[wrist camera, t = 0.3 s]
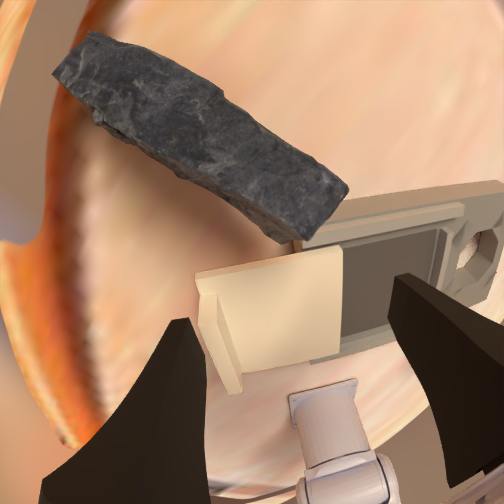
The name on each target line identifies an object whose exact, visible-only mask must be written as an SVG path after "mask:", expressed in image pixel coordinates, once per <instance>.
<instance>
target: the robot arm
mask: <svg viewBox="0 0 504 504" xmlns="http://www.w3.org/2000/svg"><path fill="white" fill-rule="evenodd" d="M387 318H388V321H389V323H390V326H391V328H392V331H393V333H394V335H395V338H396V340H397V342H398V344H399V345H400V347H401V349H402V351H403V352H404V354H405V356H406V358H407V360H408V361H409V363H410V365H411V367H412V368H413V370H414V372H415V374H416V376H417V377H418V379H419V381H420V383H421V385H422V387H423V389H424V391H425V393H426V396H427V398H428V401H429V404H430V406H431V409H432V412H433V415H434V418H435V421H436V425H437V428H438V431H439V435H440V440H441V444H442V448H443V453H444V459H445V467H446V475H447V482H448V484H449V487H450V488H453V487H455V486H456V485H458V484H460V483H462V482H464V481H465V480H467V479H469V478H470V477H472V476H474V475H475V474H477V473H479V472H480V471H481V470H483V472H484V474H485V476H484V477H482V478H481V479H479V480H478V481H476V482H475V483H473V484H472V485H470V486H469V487H467V488H466V489H464V490H462V491H461V492H459V493H457V494H456V495H454V496H452V497H451V498H449V499H447V500H445V501H444V502H442V503H440V504H472V503H474V502H475V504H504V326H502V325H500V324H498V323H496V322H494V321H492V320H490V319H488V318H486V317H484V316H482V315H480V314H478V313H477V312H475V311H473V310H471V309H469V308H468V307H466V306H464V305H462V304H461V303H459V302H457V301H456V300H454V299H452V298H451V297H449V296H448V295H446V294H444V293H443V292H441V291H439V290H438V289H436V288H435V287H433V286H431V285H430V284H428V283H426V282H425V281H423V280H421V279H420V278H418V277H416V276H414V275H412V274H410V273H405V274H401V275H397V276H395V277H394V283H393V289H392V295H391V301H390V306H389V311H388V316H387ZM357 384H358V381H357V379H351V380H348V381H344V382H341V383H337V384H333V385H329V386H325V387H322V388H317V389H313V390H309V391H305V392H300V393H295V394H291V395H290V396H289V404H290V410H291V417H292V423H293V428H295V429H296V428H298V431H299V436H300V441H301V446H302V450H303V455H304V460H305V464H306V469H307V470H305V471H304V473H305V477H303V478H300V479H299V481H298V483H297V484H296V497H297V503H298V504H401V501H400V497H399V488H398V482H397V478H396V474H395V471H394V469H393V466H392V464H391V462H390V460H389V458H388V457H387V456H384V455H382V454H377V455H376V454H375V452H374V450H371V448H370V446H369V443H368V440H367V437H366V434H365V431H364V428H363V425H362V422H361V419H360V417H359V414H358V411H357V408H356V405H355V403H354V397H355V393H356V388H357ZM206 388H207V377H206V362H205V355H204V352H203V350H202V348H201V345H200V343H199V341H198V338H197V336H196V334H195V331H194V329H193V326H192V324H191V321H190V319H189V317H188V318H181V319H174V320H171V322H170V323H169V325H168V327H167V329H166V330H165V332H164V334H163V336H162V338H161V339H160V341H159V343H158V345H157V347H156V348H155V350H154V352H153V354H152V355H151V357H150V359H149V361H148V362H147V364H146V366H145V367H144V369H143V371H142V372H141V374H140V376H139V377H138V379H137V380H136V382H135V383H134V385H133V386H132V388H131V390H130V391H129V393H128V394H127V395H126V397H125V398H124V400H123V401H122V402H121V404H120V405H119V407H118V408H117V409H116V410H115V412H114V413H113V414H112V416H111V417H110V418H109V419H108V420H107V422H106V423H105V424H104V425H103V426H102V427H101V428H100V430H99V431H98V432H97V433H96V434H95V435H94V436H93V437H92V438H91V439H90V440H89V441H88V442H87V443H86V444H85V445H84V446H83V447H82V448H81V449H80V450H79V451H78V452H77V453H76V454H75V455H74V456H73V457H71V458H70V459H69V460H68V461H67V462H65V463H64V464H63V465H61V466H60V467H59V468H57V469H56V470H55V471H53V472H52V473H51V474H50V475H48V476H47V477H45V478H44V479H43V480H42V484H41V490H40V496H39V503H38V504H211V501H210V495H209V488H208V480H207V472H206V462H205V450H204V428H205V407H206Z"/></svg>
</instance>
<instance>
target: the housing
mask: <svg viewBox="0 0 504 504" xmlns="http://www.w3.org/2000/svg"><path fill="white" fill-rule="evenodd" d="M480 231H481V236H480V240H479V245H478V249H477V251H476V252H475V254H474V255H473V256H472V257H471V259H470V260H469V261H468V262H467V264H466V265H465V266H464V267H463V268H460V269H457V270H456V267H457V263H458V259H459V254H460V253H461V252H462V250H463V249H464V248H465V247H466V245H467V244H468V243H469V241H470V240H471V239H472V237H473V236H474V235H475V233H477V232H480ZM293 245H294V254H295V253H300V252H305V251H310V250H315V249H320V248H325V247H330V246H335V245H339V246H340V247H341V249H342V250H343V286H342V314H341V333H340V348H339V353H337V354H334V355H330V356H326V357H322V358H318V359H313V360H309V361H310V365H312V364H316V363H321V362H325V361H329V360H333V359H336V358H340V357H344V356H348V355H351V354H355V353H358V352H362V351H365V350H368V349H372V348H375V347H378V346H381V345H384V344H387V343H390V342H393V341H396V338H395V335H394V333H393V331H392V328H391V326H390V323H389V321H388V318H387V316H388V311H389V306H390V301H391V295H392V289H393V283H394V277H395V276H397V275H401V274H405V273H410V274H412V275H414V276H416V277H418V278H420V279H421V280H423V281H425V282H426V283H428V284H430V285H431V286H433V287H435V288H436V289H438V290H439V291H441V292H443V293H444V294H446V295H448V296H449V297H451V298H452V299H454V300H456V301H457V302H459V303H461V304H462V305H464V306H466V307H471V306H473V305H475V304H477V303H480V302H482V301H484V300H486V299H487V296H488V293H489V290H490V288H491V285H492V282H493V279H494V276H495V274H496V273H497V272H496V270H497V267H498V263H499V260H500V257H501V253H502V250H503V246H504V184H503V183H501V182H499V181H497V180H492V181H483V182H474V183H465V184H457V185H449V186H441V187H433V188H426V189H418V190H411V191H404V192H397V193H390V194H384V195H377V196H371V197H364V198H358V199H352V200H346V201H341V203H340V204H339V206H338V208H337V209H336V210H335V212H334V213H333V214H332V215H331V217H330V218H329V219H328V220H327V221H326V222H325V223H324V224H323V225H322V226H321V227H320V228H319V229H318V230H317V231H316V233H315V235H314V236H313V237H312V239H311V240H309V241H308V242H306V241H304V240H293Z"/></svg>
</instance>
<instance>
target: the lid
mask: <svg viewBox="0 0 504 504" xmlns="http://www.w3.org/2000/svg"><path fill="white" fill-rule="evenodd" d="M195 282H196V285H197V288H198V291H199V294H200V301H199V315H198V328H199V330H200V332H201V335H202V337H203V339H204V342H205V344H206V346H207V349H208V351H209V353H210V356H211V358H212V360H213V362H214V365H215V367H216V369H217V371H218V373H219V376H220V378H221V380H222V382H223V384H224V386H225V388H226V390H227V393H228V395H234V394H241V393H243V385H242V373H248V372H254V371H260V370H266V369H271V368H276V367H281V366H286V365H291V364H296V363H300V362H305V361H309V360H313V359H318V358H322V357H326V356H330V355H334V354H337V353H339V348H340V333H341V314H342V286H343V250H342V249H341V247H340V246H339V245H335V246H330V247H325V248H320V249H315V250H310V251H305V252H300V253H295V254H290V255H285V256H280V257H275V258H270V259H265V260H260V261H255V262H250V263H244V264H239V265H234V266H229V267H224V268H219V269H213V270H208V271H203V272H198V273H195Z"/></svg>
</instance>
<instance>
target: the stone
mask: <svg viewBox="0 0 504 504" xmlns="http://www.w3.org/2000/svg"><path fill="white" fill-rule="evenodd" d="M52 75H53V76H54V77H55V78H56V79H57V80H58V81H59V82H60V83H61V84H62V85H63V86H64V88H65V89H66V90H67V91H69V92H70V93H71V94H72V95H73V96H74V97H75V98H77V99H79V100H80V101H81V102H82V103H83V104H84V105H85V106H86V107H87V108H89V109H90V110H91V111H93V115H92V117H93V121H94V124H95V125H97V126H102V127H103V128H105V129H106V130H107V131H108V132H109V133H110V134H111V135H112V136H114V137H116V138H118V139H120V140H121V141H123V142H125V143H126V144H132V145H134V146H137V147H138V148H140V149H141V150H142V151H143V152H144V153H146V154H147V155H148V156H150V157H152V158H153V159H155V160H157V161H158V162H160V163H161V164H163V165H165V166H166V167H168V168H169V169H171V170H172V171H173V172H174V173H175V175H176V176H177V177H179V178H181V179H185V180H189V181H191V182H193V183H195V184H197V185H199V186H201V187H204V188H205V189H207V190H209V191H211V192H212V193H214V194H216V195H217V196H219V197H220V198H222V199H224V200H225V201H226V202H228V203H229V204H231V205H232V206H234V207H235V208H237V209H238V210H239V211H240V212H242V213H243V214H244V215H245V216H246V217H247V218H248V219H249V220H251V221H252V222H253V223H255V224H256V225H257V226H259V228H260V229H261V230H262V231H263V233H264V234H265V235H266V236H268V237H270V238H271V239H273V240H275V241H276V242H278V243H279V244H284V243H286V242H289V241H292V240H304V241H306V242H308V241H309V240H311V239H312V237H313V236H314V235H315V233H316V231H317V230H318V229H319V228H320V227H321V226H322V225H323V224H324V223H325V222H326V221H327V220H328V219H329V218H330V217H331V215H332V214H333V213H334V212H335V210H336V209H337V208H338V206H339V204H340V203H341V201H342V200H343V199H344V198H345V196H346V195H347V194H348V192H349V187H348V185H347V184H346V183H344V182H343V181H342V180H341V179H340V178H339V177H338V176H336V175H335V174H334V173H332V172H331V171H330V170H329V169H327V168H326V167H325V166H324V165H322V164H320V163H318V162H317V161H316V160H315V159H314V158H313V157H312V156H310V155H307V154H305V153H303V152H302V151H300V150H298V149H297V148H295V147H293V146H292V145H290V144H289V143H287V142H285V141H284V140H282V139H281V138H279V137H278V136H277V135H275V134H274V133H272V132H271V131H269V130H268V129H267V128H265V127H264V126H263V125H261V124H260V123H258V122H257V121H256V120H254V119H253V118H252V116H251V115H250V114H249V113H248V112H246V111H245V110H243V109H241V108H240V107H238V106H236V105H235V104H233V103H231V102H230V101H229V100H227V99H226V98H225V97H224V92H223V90H221V89H220V88H219V87H217V86H216V85H214V84H213V83H212V82H210V81H209V80H207V79H205V78H203V77H201V76H199V75H197V74H195V73H193V72H192V71H190V70H188V69H187V68H185V67H183V66H181V65H179V64H178V63H176V62H175V61H173V60H171V59H169V58H167V57H165V56H162V55H160V54H158V53H156V52H154V51H152V50H149V49H147V48H145V47H142V46H138V45H134V44H128V43H123V42H119V41H117V40H115V39H113V38H111V37H108V36H105V35H103V34H101V33H99V32H94V31H89V32H88V36H87V37H86V38H85V39H84V40H83V41H82V42H81V43H80V44H79V45H77V46H76V47H75V48H73V49H72V50H71V53H70V54H69V55H68V56H66V57H65V59H64V60H63V61H62V62H61V64H60V65H59V66H58V67H57V68H56V69H55V70H54V72H53V73H52Z"/></svg>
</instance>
